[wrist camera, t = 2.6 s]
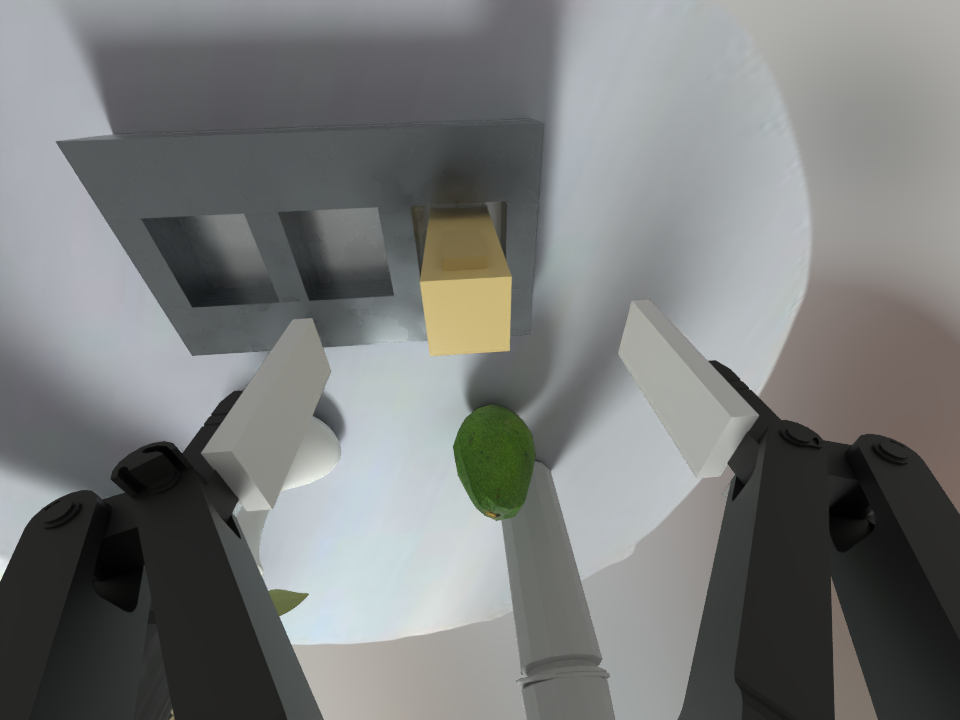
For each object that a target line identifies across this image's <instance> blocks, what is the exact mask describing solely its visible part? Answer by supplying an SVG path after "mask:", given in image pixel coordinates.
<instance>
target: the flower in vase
mask: <svg viewBox="0 0 960 720" xmlns="http://www.w3.org/2000/svg"><path fill="white" fill-rule="evenodd" d="M340 456H341V447H340V444H339V441H338V439H337V437H336V436H335V434H334V432H333V431H332V430H331V429H330V428H329V427H328V426H327V425H326V424H325V423H324V422H322V421H321V420H319V419H318V418H316V417H314V416H312V418H311V420H310V423H309V425H308V427H307V430H306V432H305V434H304V437H303V439H302V442H301V444H300V446H299V449H298V451H297V453H296V456H295V458H294V460H293V463H292V465H291V467H290V470H289V472H288V475H287V477H286V479H285V482H284V484H283V486H282V489H281V491H280V493H281V492H282V491H284V490H286V489H290V488H294V487H299V486H302V485H306V484H309V483H312V482H314V481H316V480H318V479H320V478H322V477H324V476H326V475H327V474H328V473H329V472H331V470H332V469H333V468H334V467H335V466H336V464H337V463H338V461H339V459H340ZM280 493H279V494H280ZM268 513H269V510H257V511H246V510H245V508H244V507H243V506H242V507H241V509H240V511H239V513H238V515H237V517H236V518H237V520H238V523H239V525H240V527H241V530H242V532H243V534H244V536H245V539H246V541H247V543H248V546H249V548H250V550H251V553H252V555H253V557H254V560H255V562H256V564H257V567H258V569H259V571H260V573H261V576H262V574H263V568H262V565H261V562H260V557H259V545H260V539H261V534H262V530H263V527H264V524H265V521H266V518H267V515H268ZM268 592H269V594H270V597H271V599H272V601H273V604H274V606H275V608H276V610H277V613H278V615H279V616H281V615H283V614H285V613H287V612H289V611H290V610H292V609H293V608H295V607H296V606H297V605H299V604H300V603H301V602H302V601H303V600H304V599H305V598H306V597H307V596H308V595H309V594H308V593H296V592H291V591H286V590H280V589H275V590H270V591H268ZM171 714H172V715H174V714H173V709H172V711H171ZM170 720H174V716H172V717H171V718H170Z"/></svg>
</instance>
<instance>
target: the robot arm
mask: <svg viewBox="0 0 960 720" xmlns="http://www.w3.org/2000/svg"><path fill="white" fill-rule="evenodd" d="M618 355H619V356H620V358H621V360H622V361H623V363H624V364H625V366H626V367H627V369H628V371H629V372H630V374H631V375H632V377H633V379H634V380H635V382H636V383H637V385H638V386H639V388H640V390H641V391H642V393H643V394H644V396H645V398H646V399H647V401H648V402H649V404H650V405H651V407H652V409H653V410H654V412H655V413H656V415H657V417H658V418H659V420H660V421H661V423H662V424H663V426H664V428H665V429H666V431H667V432H668V434H669V436H670V437H671V439H672V440H673V442H674V444H675V445H676V447H677V448H678V450H679V451H680V453H681V455H682V456H683V458H684V459H685V461H686V463H687V464H688V466H689V467H690V469H691V470H692V472H693V474H694V475H695V477H696V478H704V477H718V476H721V474H722V472H723V471H724V469H725V468H726V466H727V465H729V466H730V468H731V469H732V470H733V472H734V473H735V476H734V477H733V478H732V480H731V482H730V483H729V484H728V486H727V487H726V489H725V490H724V492H723V493H722V496H724V497H726V495H727V494H728V497H727V502H726V507H725V511H724V516H723V521H722V526H721V530H720V535H719V540H718V545H717V549H716V554H715V559H714V563H713V568H712V573H711V577H710V582H709V587H708V591H707V596H706V601H705V606H704V611H703V615H702V620H701V624H700V629H699V634H698V639H697V643H696V648H695V653H694V657H693V662H692V667H691V672H690V676H689V681H688V686H687V690H686V695H685V700H684V704H683V708H682V711H681V713H680V716H679V718H678V720H835V714H834V678H833V642H832V607H831V577H832V580H833V583H834V586H835V589H836V592H837V596H838V599H839V602H840V605H841V608H842V611H843V614H844V617H845V620H846V623H847V626H848V629H849V632H850V635H851V638H852V641H853V644H854V648H855V650H856V654H857V657H858V660H859V663H860V666H861V669H862V672H863V675H864V678H865V681H866V684H867V687H868V690H869V693H870V696H871V699H872V702H873V706H874V709H875V712H876V715H877V718H878V720H960V514H959V513H958V512H957V510H956V508H955V507H954V505H953V504H952V502H951V501H950V499H949V498H948V496H947V495H946V493H945V492H944V490H943V489H942V487H941V486H940V484H939V483H938V481H937V480H936V478H935V477H934V475H933V474H932V473H931V471H930V470H929V468H928V466H926V464H925V462H924V461H923V460H922V459H921V457H920V456H919V455H918V454H917V453H916V452H914V451H913V450H911V449H910V448H908V447H907V446H906V445H904V444H902V443H900V442H897V441H896V440H893V439H891V438H887V437H884V436H881V435H875V434H865V435H861V436H860V437H859V438H858V439H857V440H856V441H855V442H854V443H853V444H852V445H848V444H841V443H836V442H830V441H824V440H822V438H821V437H820V436H819V435H818V434H817V433H815V432H814V431H812V430H810V429H809V428H808V427H805V426H803V425H801V424H799V423H795V422H792V421H788V420H781V419H780V418H779V417H778V416H776V414H774V412H772V410H771V409H770V408H769V407H768V406H767V405H766V404H765V403H764V402H763V401H762V400H761V399H760V398H759V397H758V396H757V395H756V394H755V393H754V392H753V391H752V390H749V387H748V386H747V385H746V384H745V383H744V382H743V381H740V378H739V377H738V376H737V375H736V374H735V373H734V372H733V371H732V370H731V369H729V368H728V367H726V366H724V365H723V364H721V363H719V362H717V361H716V360H713V361H707V360H706V359H705V357H704V356H703V355H702V354H701V353H700V352H699V351H698V350H697V349H696V348H695V347H694V346H693V345H692V344H691V343H690V342H689V341H688V339H687V338H686V337H685V336H684V335H683V334H682V333H681V332H680V331H679V330H678V329H677V328H676V327H675V326H674V325H673V324H672V323H671V321H670V320H669V319H668V318H667V317H666V316H665V315H664V314H663V313H662V312H661V311H660V310H659V309H658V308H657V307H656V306H655V305H654V303H653V302H652V301H651V300H633V301H632V302H631V305H630V309H629V313H628V317H627V321H626V325H625V328H624V332H623V336H622V340H621V344H620V348H619V352H618ZM330 373H331V369H330V366H329V363H328V360H327V358H326V355H325V352H324V349H323V347H322V344H321V341H320V338H319V336H318V333H317V330H316V327H315V324H314V322H313V319H312V318H307V319H293V320H292V321H291V323H290V324H289V326H288V327H287V329H286V330H285V332H284V333H283V334H282V336H281V337H280V339H279V340H278V342H277V343H276V345H275V346H274V348H273V349H272V350H271V352H270V353H269V355H268V356H267V358H266V359H265V361H264V362H263V364H262V365H261V366H260V368H259V369H258V371H257V372H256V374H255V375H254V377H253V378H252V380H251V381H250V382H249V384H248V385H247V387H246V388H245V390H243V391H234V392H232V393H231V394H230V395H229V396H227V397H226V398H225V399H224V400H222V401H221V402H220V403H219V404H218V406H217V407H216V409H215V410H214V411H213V413H212V414H211V415H212V416H211V417H209V418H208V419H207V421H206V422H205V423H204V427H201V429H200V430H199V432H198V433H197V434H196V436H195V437H194V438H193V440H192V441H191V442H190V444H189V445H188V446H187V448H186V449H185V451H184V452H183V453H181V452H180V451H179V449H178V448H177V447H176V446H175V445H174V444H173V443H170V442H165V441H164V442H157V443H152V444H149V445H147V446H144V447H141V448H139V449H138V450H136V451H134V452H132V453H131V454H129V455H128V456H126V457H125V458H124V459H123V460H122V461H120V462H119V463H118V465H117V466H116V467H115V469H114V470H113V471H112V475H111V480H112V481H113V482H114V483H115V484H117V485H118V486H119V487H120V488H121V489H122V490H123V491H124V492H125V493H122V494H119V495H116V496H113V497H109V498H106V499H101V498H100V497H99V496H98V495H97V494H95V493H94V492H93V491H87V490H81V491H77V492H73V493H70V494H67V495H65V496H63V497H61V498H59V499H56V500H55V501H53V502H52V503H50V504H48V505H47V506H46V507H44V508H43V509H41V510H40V511H39V512H38V513H37V514H36V515H35V516H34V517H33V518H32V519H31V520H30V522H29V523H28V524H27V526H26V527H25V529H24V531H23V533H22V535H21V538H20V540H19V542H18V544H17V546H16V549H15V551H14V553H13V555H12V557H11V559H10V562H9V564H8V566H7V568H6V570H5V573H4V575H3V577H2V579H1V581H0V720H170V718H171V717H172V716H174V720H324V719H323V717H322V715H321V712H320V710H319V708H318V706H317V703H316V701H315V698H314V696H313V694H312V691H311V689H310V687H309V684H308V682H307V680H306V678H305V675H304V673H303V671H302V668H301V666H300V664H299V661H298V659H297V657H296V654H295V652H294V650H293V648H292V645H291V643H290V641H289V638H288V636H287V634H286V631H285V629H284V627H283V624H282V622H281V620H280V617H279V615H278V613H277V610H276V608H275V606H274V604H273V601H272V599H271V597H270V594H269V592H268V590H267V587H266V585H265V583H264V580H263V578H262V576H261V573H260V571H259V569H258V567H257V564H256V562H255V560H254V557H253V555H252V553H251V550H250V548H249V546H248V543H247V541H246V539H245V536H244V534H243V532H242V530H241V527H240V525H239V523H238V520H237V518H236V517H235V516H234V515H233V513H232V512H233V510H234V508H235V506H236V504H237V502H238V501H239V502H240V503H241V505H242V506H243V507H244V508H245V510H246V511H257V510H271V509H273V507H274V505H275V503H276V500H277V498H278V496H279V493H280V491H281V489H282V486H283V484H284V482H285V479H286V477H287V475H288V472H289V470H290V467H291V465H292V463H293V460H294V458H295V456H296V453H297V451H298V449H299V446H300V444H301V442H302V439H303V437H304V434H305V432H306V430H307V427H308V425H309V423H310V420H311V418H312V416H313V413H314V411H315V409H316V406H317V404H318V401H319V399H320V397H321V394H322V392H323V390H324V387H325V385H326V383H327V380H328V378H329V376H330ZM874 515H875V516H874ZM172 709H173V714H174V715H172V714H171V711H172Z"/></svg>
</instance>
